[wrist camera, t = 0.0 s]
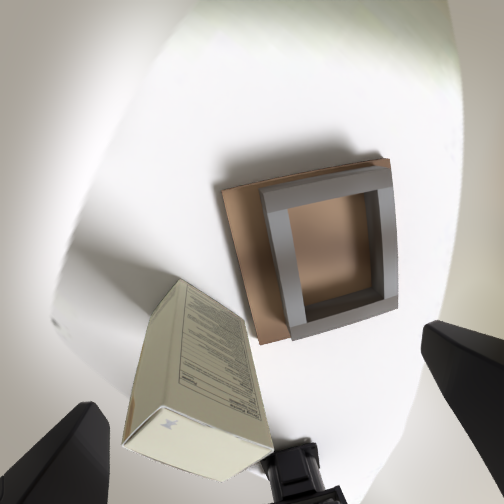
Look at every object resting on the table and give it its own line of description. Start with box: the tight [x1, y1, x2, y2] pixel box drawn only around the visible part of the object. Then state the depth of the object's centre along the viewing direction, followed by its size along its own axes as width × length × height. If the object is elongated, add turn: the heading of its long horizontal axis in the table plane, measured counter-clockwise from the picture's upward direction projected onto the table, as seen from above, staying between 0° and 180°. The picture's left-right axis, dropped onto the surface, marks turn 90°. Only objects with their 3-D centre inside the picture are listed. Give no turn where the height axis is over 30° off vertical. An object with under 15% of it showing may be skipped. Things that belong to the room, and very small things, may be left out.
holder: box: [221, 158, 398, 345], centre depth 21 cm, size 12×12×3 cm
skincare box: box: [121, 279, 274, 483], centre depth 18 cm, size 6×4×12 cm
